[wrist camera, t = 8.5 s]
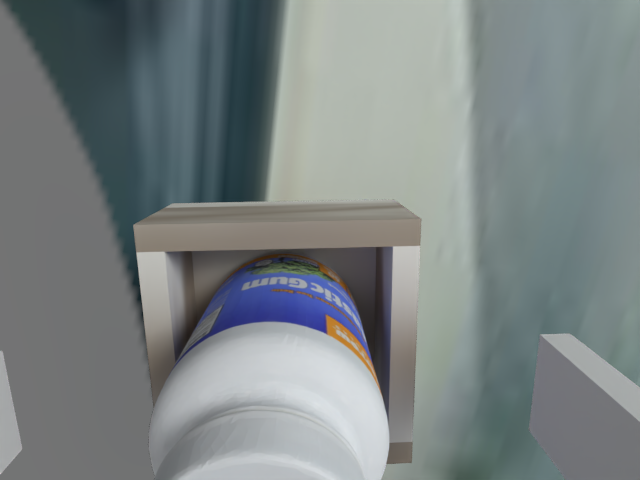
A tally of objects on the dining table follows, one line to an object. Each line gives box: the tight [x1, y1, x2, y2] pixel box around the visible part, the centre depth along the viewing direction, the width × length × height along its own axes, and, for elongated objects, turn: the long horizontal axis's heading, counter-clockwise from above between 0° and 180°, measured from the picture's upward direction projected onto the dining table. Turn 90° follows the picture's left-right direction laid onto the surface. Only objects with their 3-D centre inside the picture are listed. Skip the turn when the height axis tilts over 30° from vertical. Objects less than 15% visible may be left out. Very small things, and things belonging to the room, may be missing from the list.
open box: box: [133, 199, 421, 464], centre depth 18 cm, size 8×8×9 cm
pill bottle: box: [148, 252, 389, 480], centre depth 12 cm, size 5×5×10 cm
